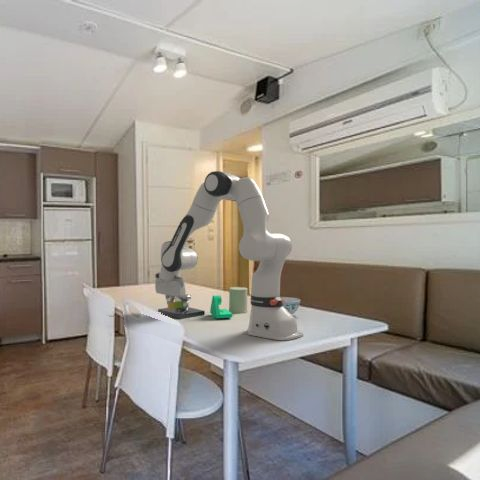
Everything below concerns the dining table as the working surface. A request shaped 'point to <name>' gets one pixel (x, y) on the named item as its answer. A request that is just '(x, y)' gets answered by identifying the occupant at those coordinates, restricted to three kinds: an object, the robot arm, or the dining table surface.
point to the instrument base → (181, 312)
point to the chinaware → (291, 304)
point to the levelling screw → (180, 303)
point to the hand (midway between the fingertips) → (170, 304)
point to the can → (238, 300)
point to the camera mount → (215, 308)
